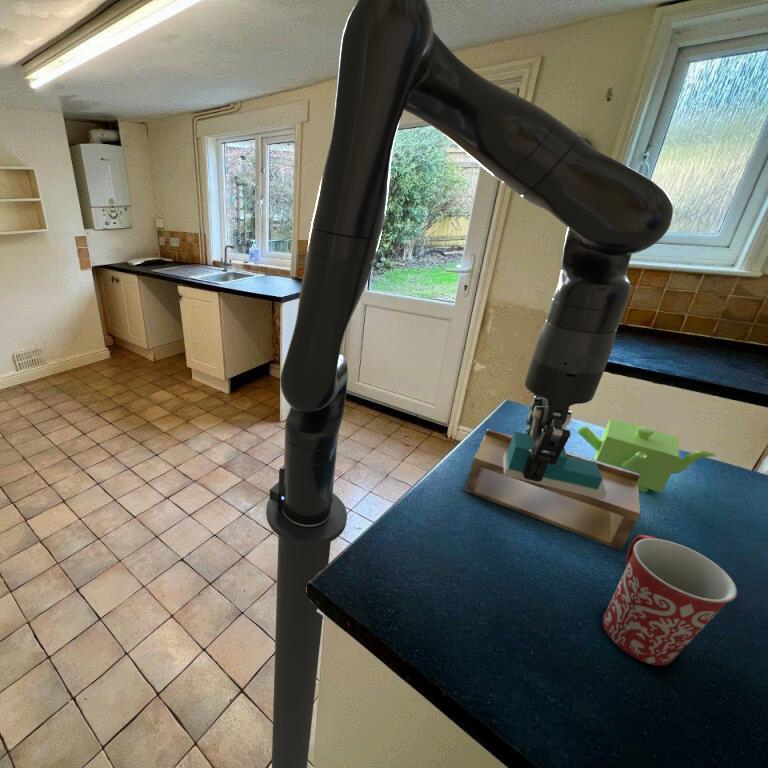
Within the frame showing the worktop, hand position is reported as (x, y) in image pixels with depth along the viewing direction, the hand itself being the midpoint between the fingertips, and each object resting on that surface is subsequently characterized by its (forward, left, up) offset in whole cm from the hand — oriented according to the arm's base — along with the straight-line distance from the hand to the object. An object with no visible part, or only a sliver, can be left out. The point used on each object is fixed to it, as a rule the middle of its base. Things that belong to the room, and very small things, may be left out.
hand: (530, 467), depth 59 cm
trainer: (+3, 0, -1) cm, 3 cm away
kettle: (+17, +38, -18) cm, 45 cm away
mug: (+17, -2, -18) cm, 24 cm away
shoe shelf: (+4, +19, -18) cm, 26 cm away
